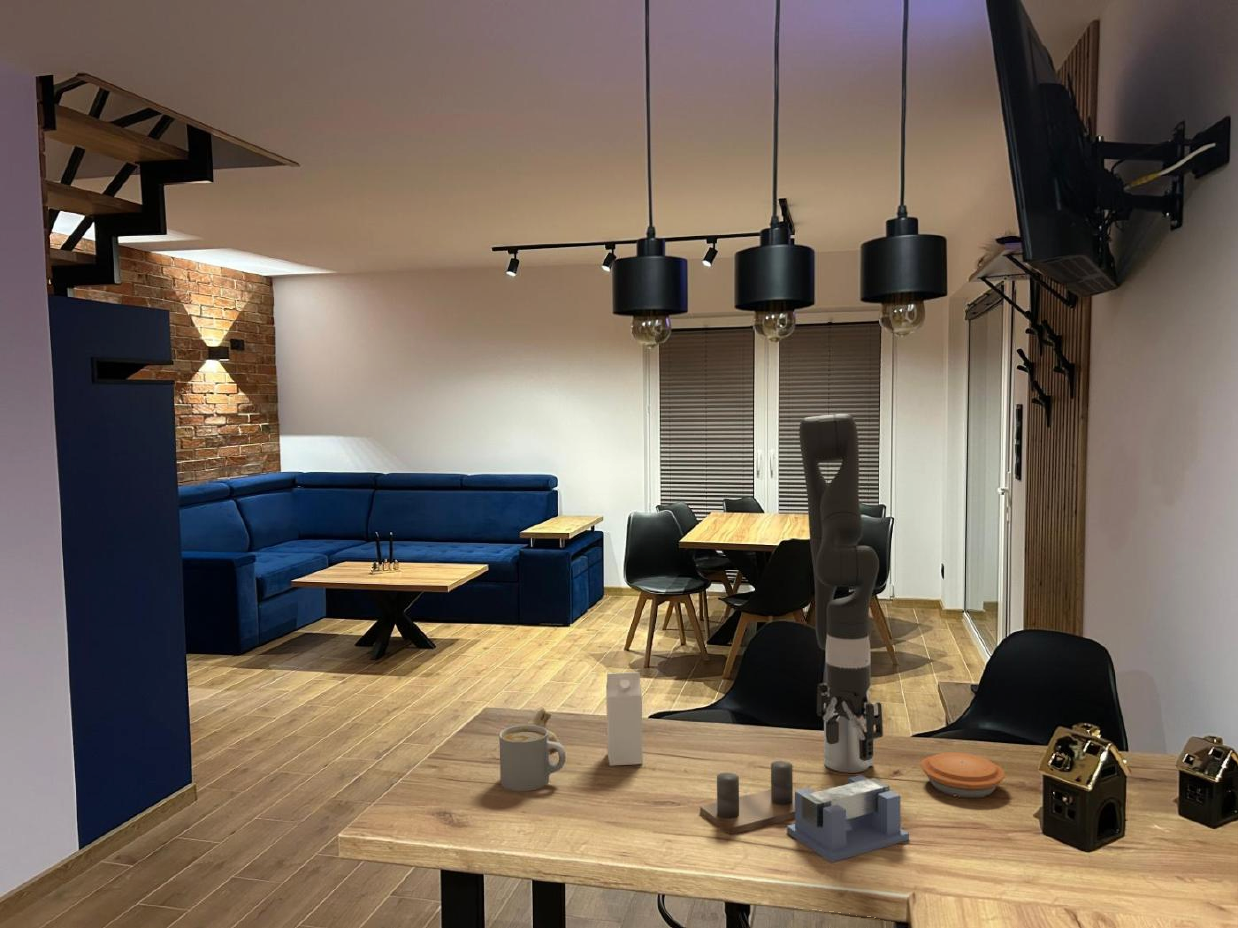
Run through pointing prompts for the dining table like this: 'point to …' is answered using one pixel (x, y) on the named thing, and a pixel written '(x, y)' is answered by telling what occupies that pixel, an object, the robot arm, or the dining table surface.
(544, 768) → the coffee mug
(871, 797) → the steel bar
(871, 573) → the robot arm
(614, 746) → the milk carton
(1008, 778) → the dining table surface
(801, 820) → the notched cradle
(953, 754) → the pie
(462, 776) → the dining table surface
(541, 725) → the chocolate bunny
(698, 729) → the dining table surface
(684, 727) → the dining table surface
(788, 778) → the stand
